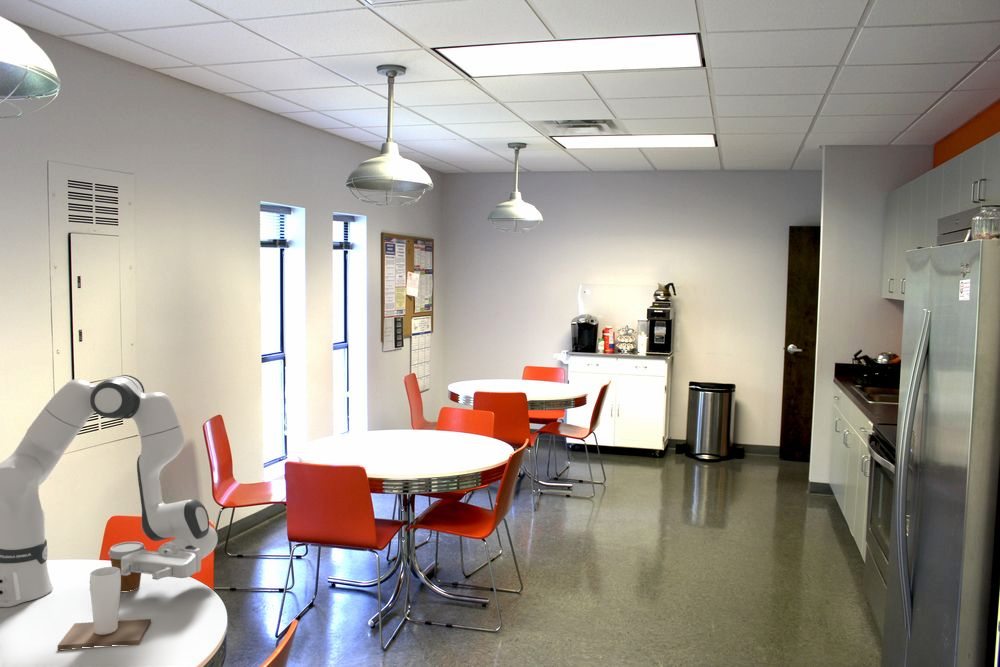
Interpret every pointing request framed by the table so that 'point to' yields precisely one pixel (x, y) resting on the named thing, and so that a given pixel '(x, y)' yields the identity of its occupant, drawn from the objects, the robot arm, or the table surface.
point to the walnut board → (124, 635)
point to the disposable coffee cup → (116, 554)
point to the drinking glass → (105, 599)
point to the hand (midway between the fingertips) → (138, 574)
